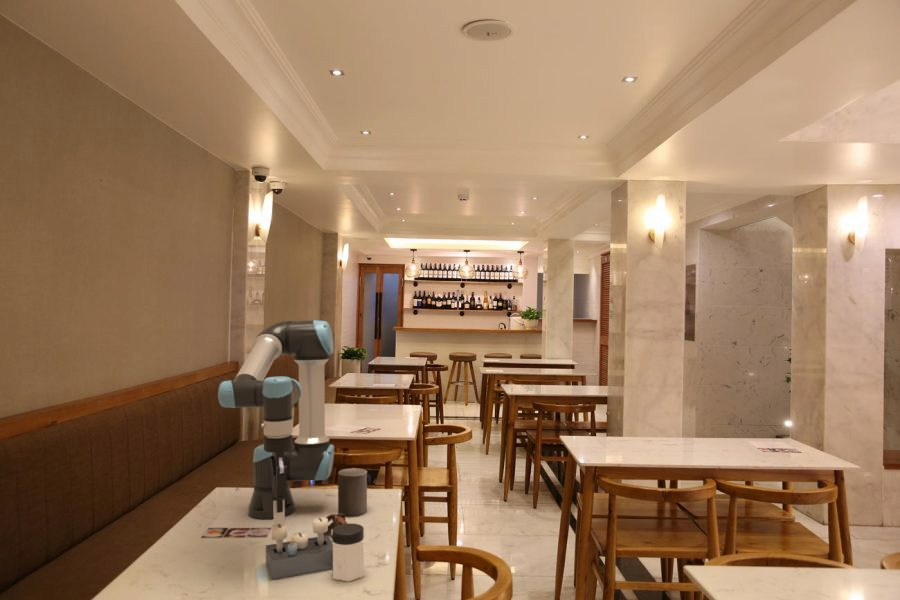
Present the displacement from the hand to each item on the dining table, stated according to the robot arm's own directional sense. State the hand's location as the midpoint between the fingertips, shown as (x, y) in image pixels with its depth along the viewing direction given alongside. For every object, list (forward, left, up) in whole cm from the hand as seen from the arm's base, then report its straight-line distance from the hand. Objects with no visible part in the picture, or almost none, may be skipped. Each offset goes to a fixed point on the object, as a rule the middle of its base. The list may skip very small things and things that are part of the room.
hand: (279, 522), depth 168 cm
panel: (0, +6, -12) cm, 14 cm away
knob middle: (0, +6, -12) cm, 13 cm away
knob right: (0, +11, -9) cm, 14 cm away
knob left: (0, 0, -9) cm, 9 cm away
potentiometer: (+4, +3, -7) cm, 9 cm away
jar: (+11, +16, -13) cm, 23 cm away
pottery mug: (-15, +19, -13) cm, 27 cm away
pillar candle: (-35, +29, -13) cm, 47 cm away
